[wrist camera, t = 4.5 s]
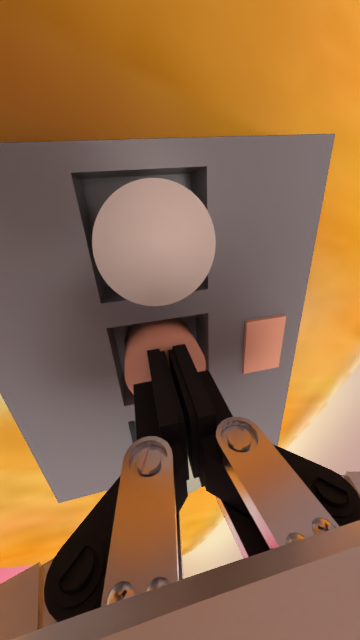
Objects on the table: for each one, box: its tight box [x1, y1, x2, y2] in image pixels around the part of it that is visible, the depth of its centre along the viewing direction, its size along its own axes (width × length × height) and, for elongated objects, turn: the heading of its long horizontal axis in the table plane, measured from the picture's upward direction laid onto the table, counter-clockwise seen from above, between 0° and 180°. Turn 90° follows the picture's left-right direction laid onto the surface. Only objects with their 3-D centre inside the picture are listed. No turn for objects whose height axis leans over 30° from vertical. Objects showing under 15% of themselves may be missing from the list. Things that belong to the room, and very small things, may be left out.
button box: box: [0, 134, 335, 503], centre depth 12 cm, size 17×14×3 cm
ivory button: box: [92, 178, 216, 306], centre depth 8 cm, size 4×4×2 cm
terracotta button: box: [124, 317, 206, 394], centre depth 12 cm, size 4×4×2 cm
